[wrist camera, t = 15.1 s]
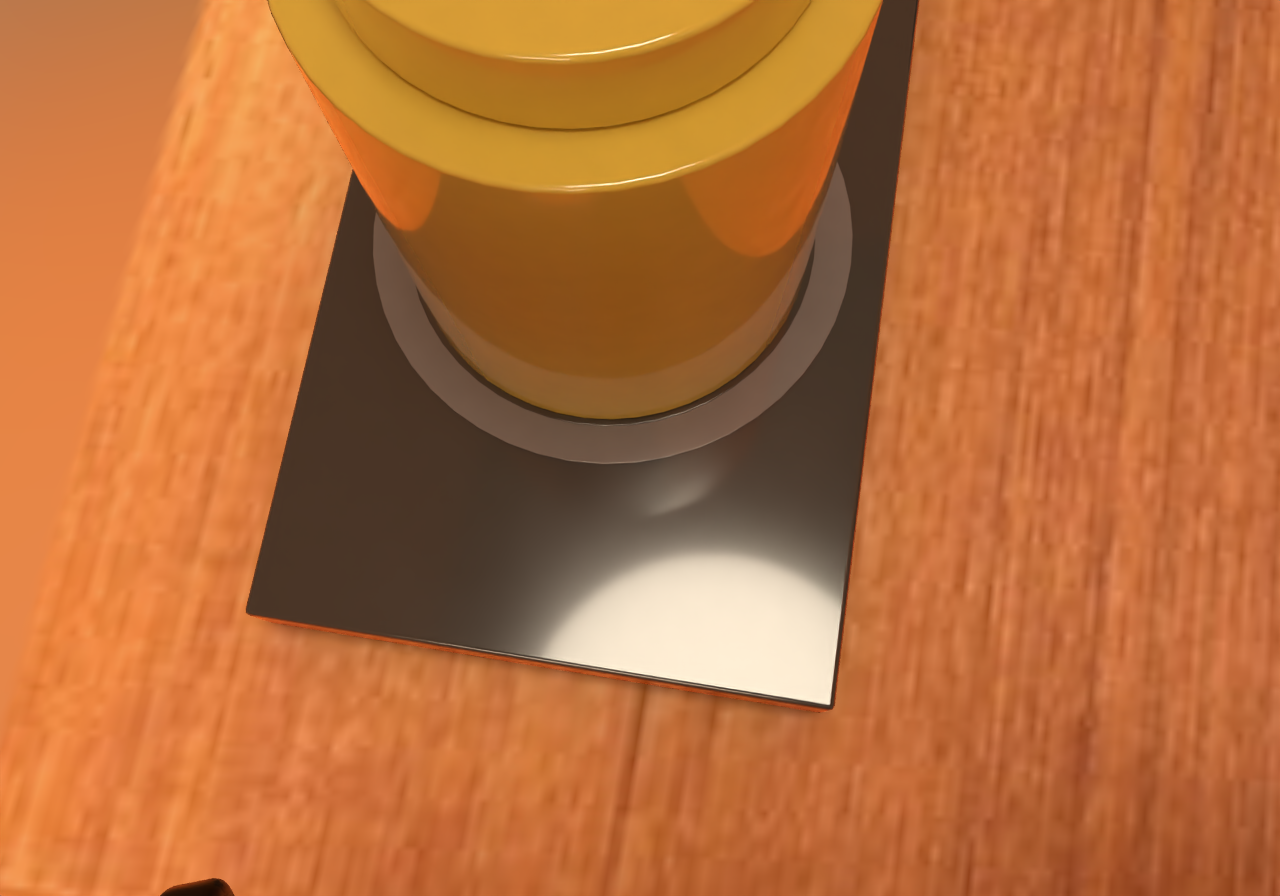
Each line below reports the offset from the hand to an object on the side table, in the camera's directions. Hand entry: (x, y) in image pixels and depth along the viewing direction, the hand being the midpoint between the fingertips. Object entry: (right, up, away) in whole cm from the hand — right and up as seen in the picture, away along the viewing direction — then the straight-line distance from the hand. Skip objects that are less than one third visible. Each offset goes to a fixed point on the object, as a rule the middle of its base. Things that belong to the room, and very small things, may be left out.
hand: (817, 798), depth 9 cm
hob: (-2, +6, +11) cm, 13 cm away
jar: (-2, +6, +10) cm, 12 cm away
